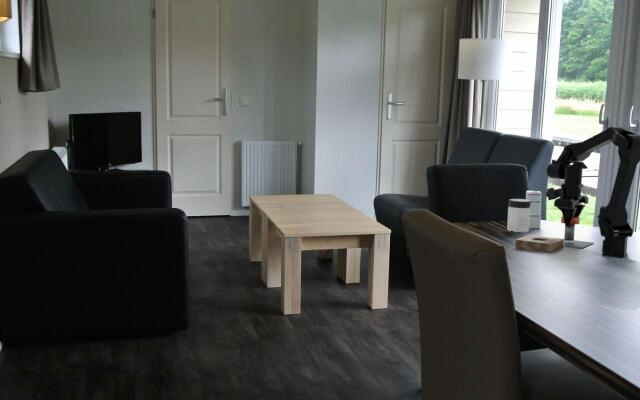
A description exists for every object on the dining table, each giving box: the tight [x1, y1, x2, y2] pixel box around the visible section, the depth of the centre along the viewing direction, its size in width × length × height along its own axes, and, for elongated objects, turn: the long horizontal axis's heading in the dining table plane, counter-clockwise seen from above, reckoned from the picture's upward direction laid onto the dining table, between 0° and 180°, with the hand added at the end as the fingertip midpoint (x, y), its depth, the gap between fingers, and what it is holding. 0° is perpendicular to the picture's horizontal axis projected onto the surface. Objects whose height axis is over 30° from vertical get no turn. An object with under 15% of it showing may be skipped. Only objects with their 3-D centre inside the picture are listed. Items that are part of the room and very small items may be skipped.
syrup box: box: [525, 190, 543, 229], centre depth 275 cm, size 6×6×14 cm
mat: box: [557, 237, 594, 250], centre depth 242 cm, size 13×13×1 cm
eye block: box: [514, 234, 564, 254], centre depth 233 cm, size 12×12×3 cm
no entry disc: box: [560, 215, 581, 241], centre depth 241 cm, size 6×6×8 cm
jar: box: [506, 198, 531, 233], centre depth 267 cm, size 9×8×12 cm
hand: (570, 225), depth 241 cm, fingers closed on no entry disc, 6 cm apart
